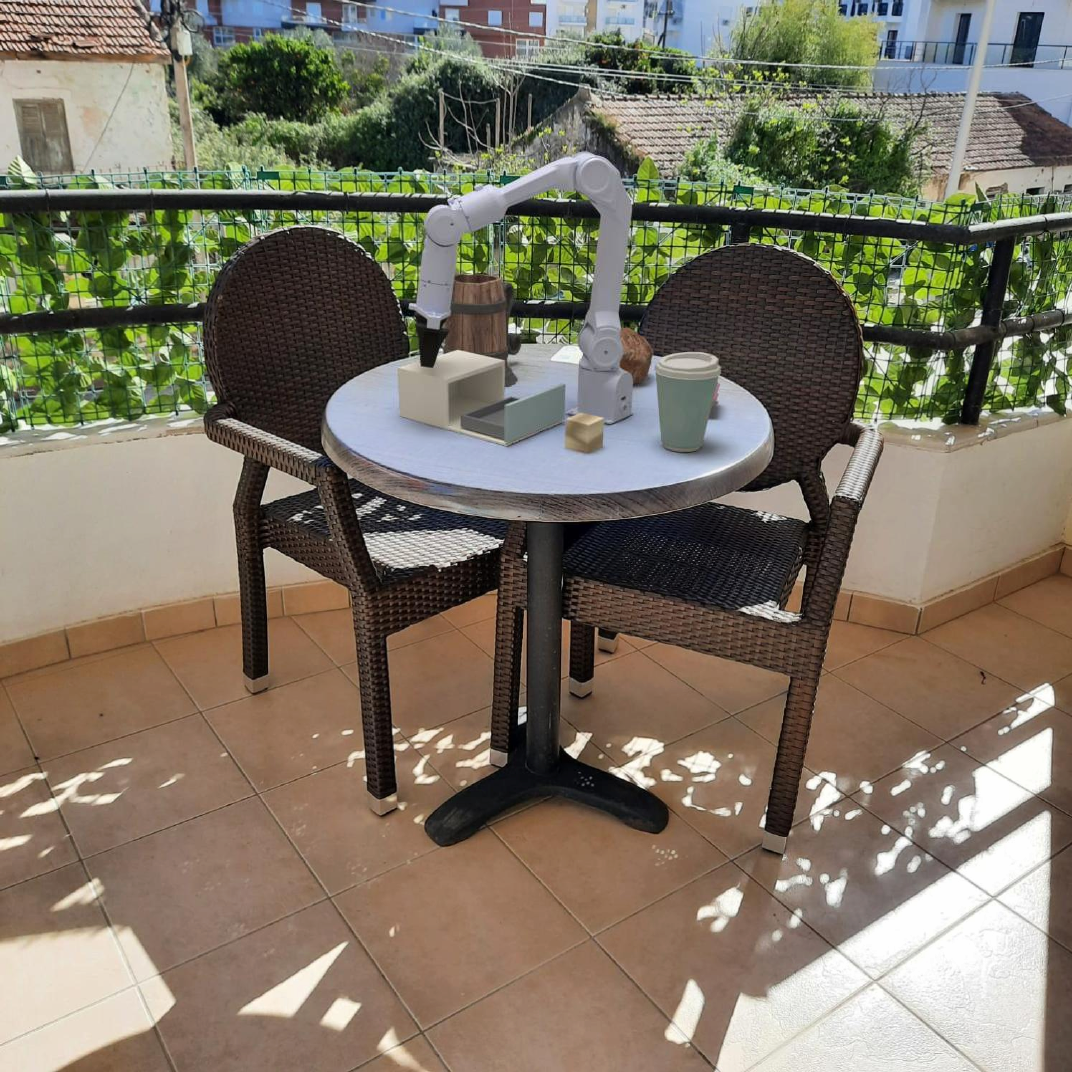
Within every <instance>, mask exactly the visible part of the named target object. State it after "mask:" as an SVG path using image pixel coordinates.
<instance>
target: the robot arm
mask: <svg viewBox="0 0 1072 1072" xmlns="http://www.w3.org/2000/svg"><path fill="white" fill-rule="evenodd" d="M473 188H474V190H473V191H470V192H467V193H466V194H464V195H461V196H460V197H457V198H455V199H454V197H453V196H452V197H450V198H448V199H447V203H448V205H447V204H438V205H435V206H433V207H432V208H431V209H430V210H429V211H428V213H427V214H426V216H425V218H424V220H423V225H424V229H425V232H426V233H427V234H426V235H425V238H424V243H423V246H424V248H423V250H422V252H421V262H420V268H419V269H420V271H419V278H418V286H417V294H416V295H417V296H416V303H412V302H410V303H408V309H409V310H412V311H415V312H414V313H413V314H414V319H415V321H416V322H415V323H414V328H415V331H416V333H417V337H418V350H419V361H420V364H421V367H428V368H433V367H434V364H435V362H436V359H437V356H439V352H440V350H441V347H442V344H443V343H444V342H445V338H446V337H447V335H448V333H449V329H445V328H443V326H444V324H445V321H446V320H447V317H448V316H450V315H451V310H450V307H451V299H452V292H453V284H454V277H455V275H456V269H457V262H458V255H457V251H458V244H459V242H460V241H461V239H462V238H463V235H464V234H471V233H474V232H476V231H478V230H480V229H482V228H485V227H487V226H489V225H491V224H494V223H496V222H498V221H500V220H502V219H503V218H504V217H505V215H506V212H507V210H508V208H509V207H511V206H514V205H517V204H519V203H522V202H524V201H527V200H529V199H532V198H534V197H536V196H539V195H541V194H544V193H547V192H548V191H551V190H558V191H565V192H572V193H573V192H574V190H575V191H576V192H577V193H579V194H581V195H582V196H584V197H585V198H587V199H588V200H589V202H590V203H591V204H592V206H593V207H594V208H595V209H596V210H597V212H598V213H599V214H600V219H599V227H598V228H599V229H598V235H597V236H598V237H597V247H596V255H595V262H594V271H593V280H592V285H591V286H592V287H591V288H592V289H591V295H590V304H589V308H588V310H587V312H586V315H585V319H584V324H583V326H582V328H581V329H580V330H579V333H578V336H577V346H578V348H579V350H580V351H581V353H582V356H581V358H580V359H579V362H578V372H577V373H578V374H577V375H578V377H577V378H578V379H577V381H578V382H577V399H576V400H577V402H576V407H574V408H571V409H568V410H567V411H566V413H567V414H568V415H572V416H574V415H577V414H579V413H585V414H589V415H593V416H598V417H602V418H604V424H608V425H612V424H614V423H617V422H619V421H620V420H622V419H625V418H627V417H630V416H631V415H633V414H634V411H633V410H632V403H633V402H632V401H633V393H634V392H633V391H634V390H633V389H634V383H633V378H632V375H631V374H630V373H629V372H627V371H624V370H623V369H621V368H620V367H619V365H620V361H621V359H622V356H623V345H622V342H621V338H620V333H621V329H622V327H621V320H620V316H619V311H620V303H621V296H622V291H623V290H622V288H623V282H624V276H625V273H624V272H625V266H626V260H627V259H626V257H627V250H628V243H629V237H630V236H629V235H630V230H631V229H630V228H631V220H632V212H633V205H632V202H631V198H629V195H628V193H627V189H626V188H625V185H624V183H623V181H622V178H621V172H620V171H619V169H617V167H616V166H614V165H613V164H612V163H611V162H610V161H609V159H607V158H605V157H603V156H602V155H601V156H600V155H595V154H594V153H592V152H590V151H580V152H578V153H575V154H574V155H572V156H565V157H562V158H560V159H557V160H554V161H552V162H550V163H548V164H545V165H544V166H542V167H539V168H538V169H535V170H534V171H532V172H529V173H528V174H526V175H523V176H522V177H519V178H517V179H516V180H513V181H512V182H510V183H507V184H506V185H504V186H501V187H497V186H494V185H492V184H489V183H488V184H486V185H484V186H483V184H482V183H479V184H476V185H473Z"/></svg>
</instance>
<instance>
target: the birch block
mask: <svg viewBox="0 0 1072 1072" xmlns="http://www.w3.org/2000/svg"><path fill="white" fill-rule="evenodd" d="M604 428H605V423H604V418H602V417H598V416H593V415H589V414H585V413H579V414H577V415H572V416H570V417H567V418H565V432H564V435H565V436H564V449H568V450H571V451H575V452H578V453H583V454H586V455H588V454H590V453H592V452H594V451H597V450H599V449H601V448H603V446H604V432H605V431H604Z"/></svg>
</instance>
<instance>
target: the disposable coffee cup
mask: <svg viewBox="0 0 1072 1072" xmlns="http://www.w3.org/2000/svg"><path fill="white" fill-rule="evenodd" d="M719 361H720V360H719V358H718V357H717V356H715V355H713V354H711V353H706V352H703V351H702V352H701V351H700V352H699V351H687V352H686V351H685V352H678V353H677V352H676V353H672V354H671V353H670V354H669V355H665V356H662V357H661V358H660V359H659V360H658V362H656V363H655V364H654V371H655V382H656V383H655V384H656V394H657V404H658V405H657V406H658V419H659V431H660V440H661V442H662V446H663V447H664V448H665V449H667V450H669V451H671V452H672V451H673V452H680V453H689V452H694V451H695V452H696V451H699V450H700V448H701V446H702V444H703V443H704V439H705V434H706V430H707V427H708V422H709V417H710V413H711V409H712V407H713V406H712V402H713V397H714V393H715V389H716V385H717V382H719V376H720V375H721V374H722V370H721V369H722V366H720V365H719ZM711 406H712V407H711Z"/></svg>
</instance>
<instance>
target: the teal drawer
mask: <svg viewBox="0 0 1072 1072" xmlns="http://www.w3.org/2000/svg"><path fill="white" fill-rule="evenodd" d="M565 401H566V384H565V383H559V384H557V385H553V386H551V387H549V388H546V389H543V390H541V391H538V392H535V393H533V394H530V395H528V396H527V395H526V396H525V397H521V398H520V397H515V396H509V397H505V399H503V400H500V401H497V402H495V403H492V404H489V405H487V406H484V407H481V408H479V409H476V410H473V411H470V412H468V413H465V414H462V415H460V416H461V427H463V428H466V429H470V430H473V431H477V432H481V433H484V434H488V435H491V436H495V437H498V438H502V439H504V442H507V443H509V442H511V441H514V440H516V439H518V438H521V437H523V436H525V435H528V434H530V433H532V432H535V431H537V430H539V429H542V428H544V427H547V426H549V425H551V424H554V423H556V422H558V421H561V420H562V421H563V420H565V408H566V406H565V405H566V402H565Z"/></svg>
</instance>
